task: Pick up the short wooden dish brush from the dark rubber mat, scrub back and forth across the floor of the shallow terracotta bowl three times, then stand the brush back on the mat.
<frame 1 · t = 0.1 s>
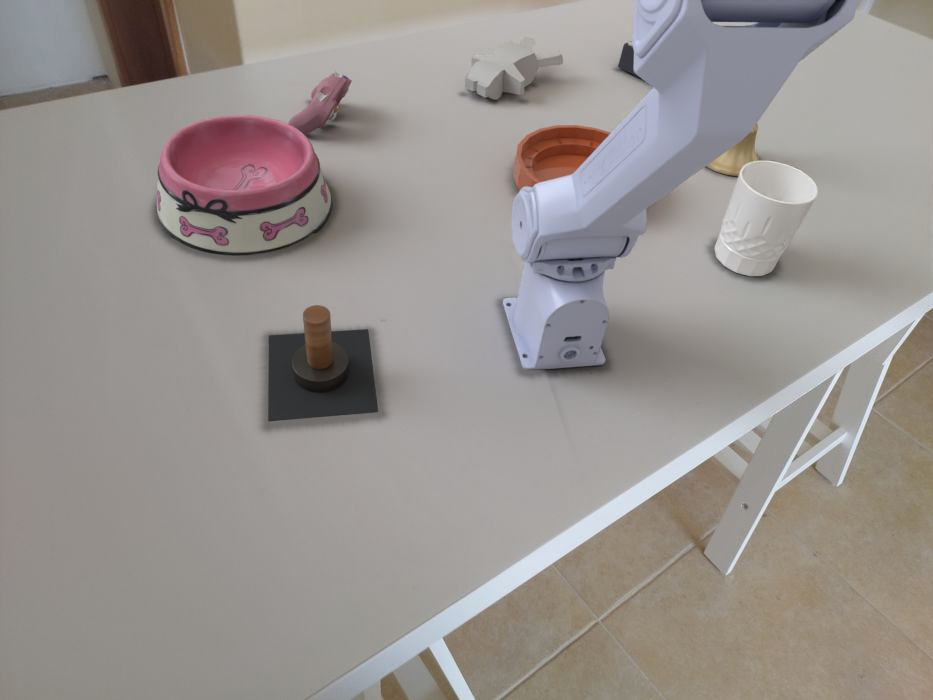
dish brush: (321, 371, 65), resting on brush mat
dog bowl: (247, 206, 81), on the table
hand bell: (726, 160, 97), on the table
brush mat: (321, 375, 65), on the table
video game controller: (322, 122, 95), on the table
white cup: (743, 259, 82), on the table
terracotta bowl: (578, 185, 90), on the table
bunny figurine: (508, 85, 107), on the table
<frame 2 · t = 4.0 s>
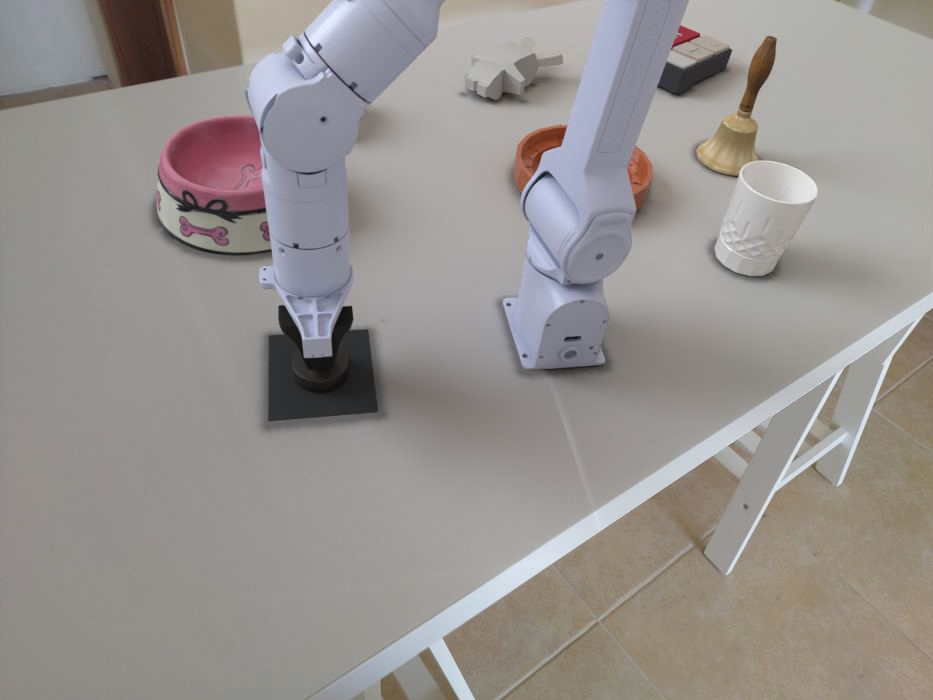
hand: (319, 354, 63), 3 cm above the table, tool pointing down, fingers closed on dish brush, 2 cm apart
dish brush: (321, 372, 65), resting on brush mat, touching gripper
everything else where it was.
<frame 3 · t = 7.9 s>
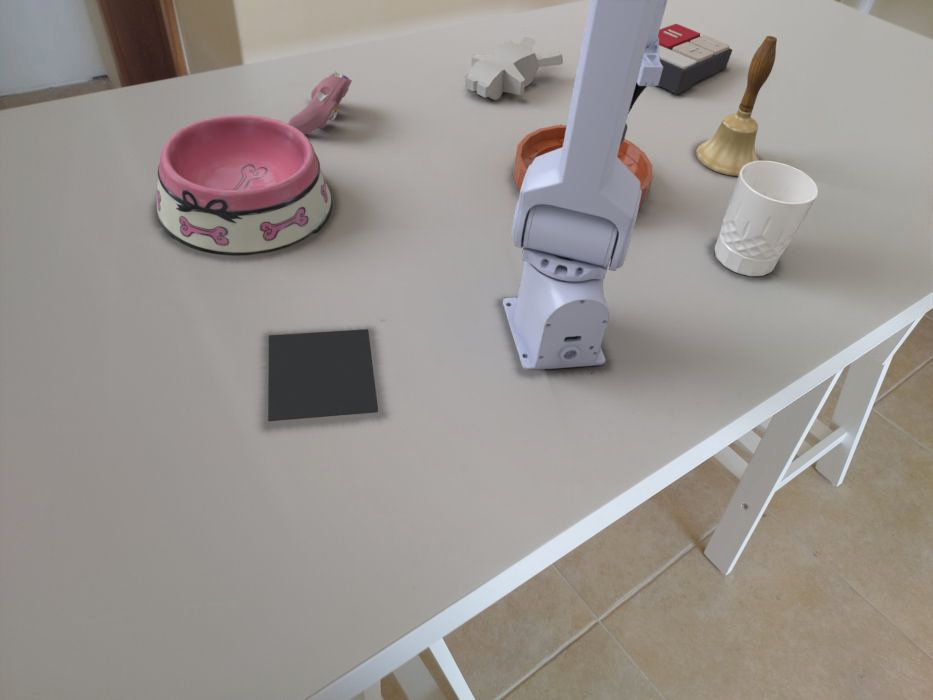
hand: (608, 117, 81), 10 cm above the table, tool pointing down, fingers closed on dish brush, 2 cm apart
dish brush: (602, 135, 82), point 8 cm above the table, touching gripper
everything else where it was.
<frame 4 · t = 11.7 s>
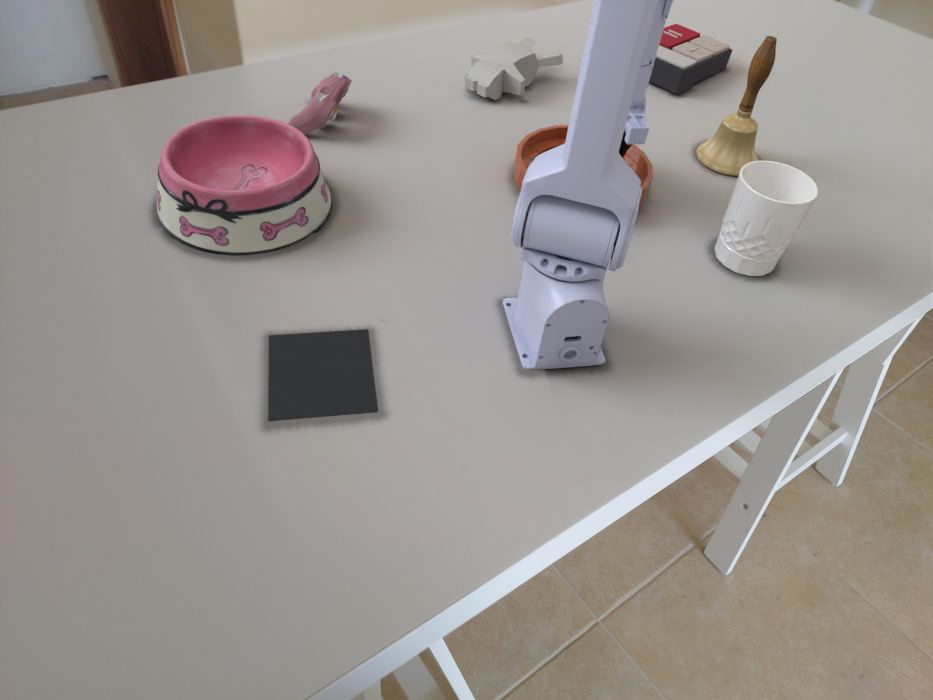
hand: (600, 167, 87), 3 cm above the table, tool pointing down, fingers closed on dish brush, 2 cm apart
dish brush: (595, 183, 88), point 1 cm above the table, touching gripper
everything else where it was.
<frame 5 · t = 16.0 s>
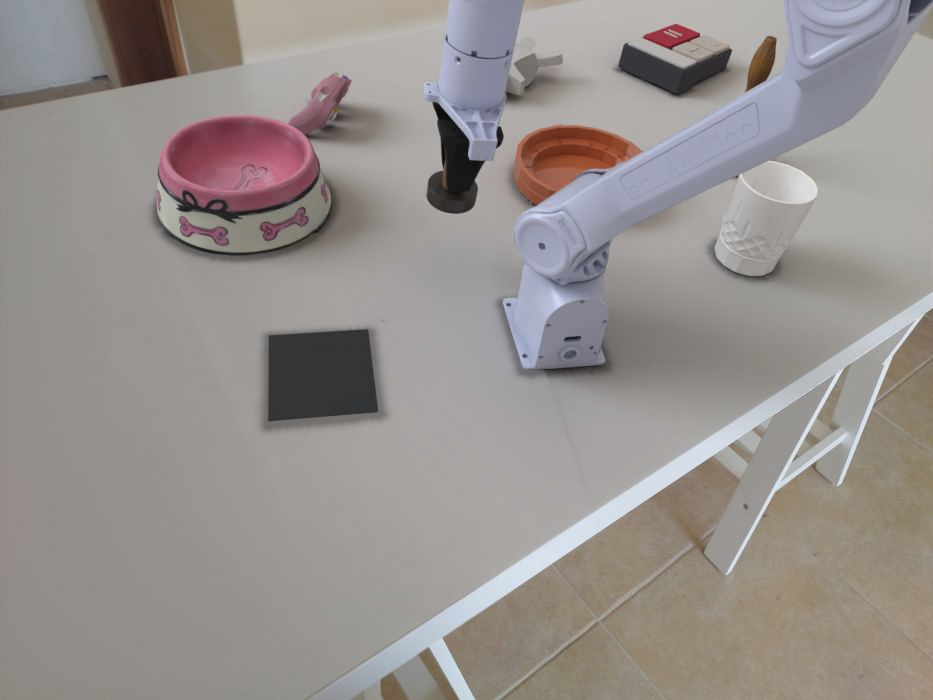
hand: (455, 179, 69), 10 cm above the table, tool pointing down, fingers closed on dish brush, 2 cm apart
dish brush: (451, 197, 71), point 8 cm above the table, touching gripper
everything else where it was.
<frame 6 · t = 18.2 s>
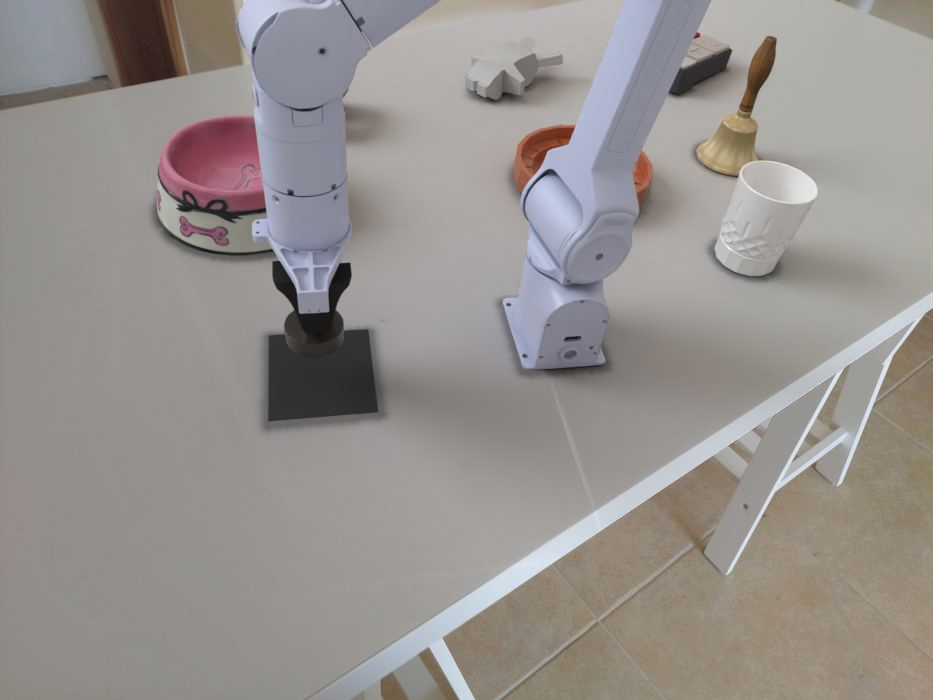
hand: (316, 317, 60), 7 cm above the table, tool pointing down, fingers closed on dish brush, 2 cm apart
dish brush: (315, 336, 61), point 5 cm above the table, touching gripper
everything else where it was.
when the fingers open (2 cm above the table, at t = 19.5 s): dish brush stays where it is, resting on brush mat.
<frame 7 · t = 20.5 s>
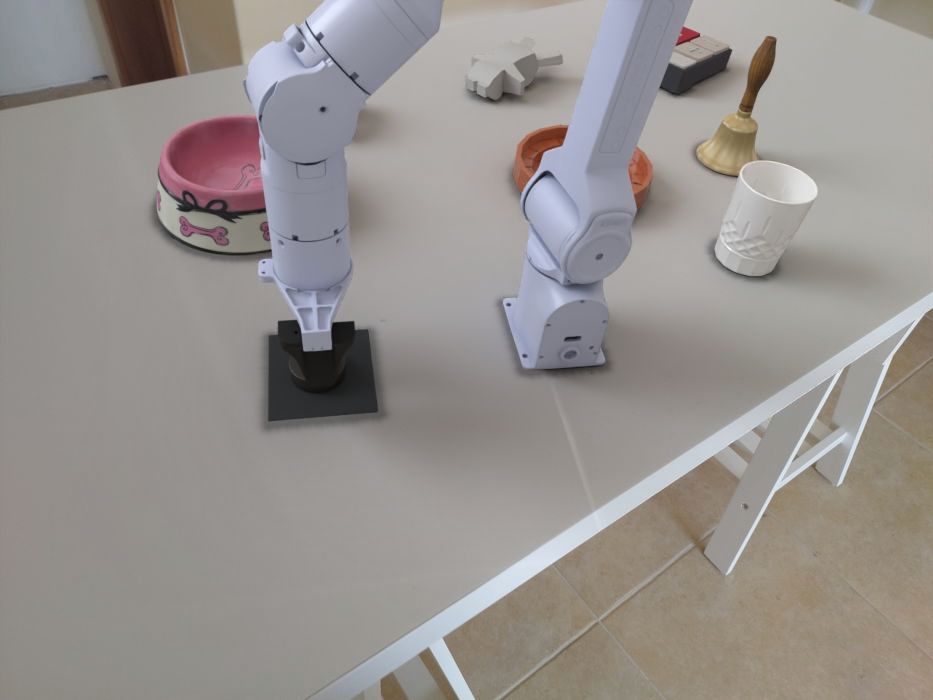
hand: (319, 349, 62), 3 cm above the table, tool pointing down, fingers open, 7 cm apart
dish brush: (318, 372, 64), resting on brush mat
everything else where it was.
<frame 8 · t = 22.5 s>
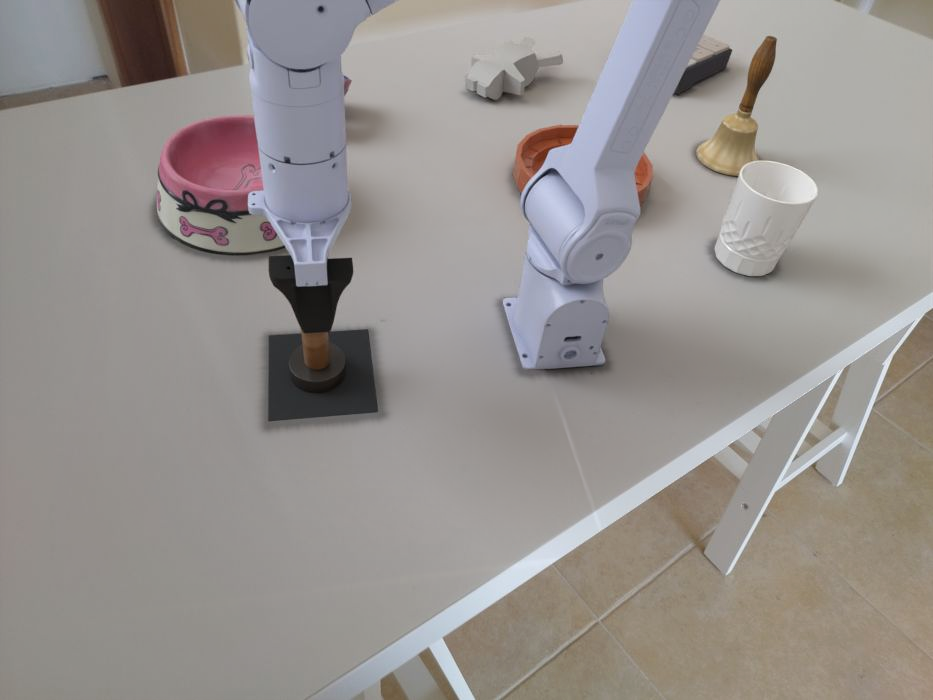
hand: (314, 295, 58), 9 cm above the table, tool pointing down, fingers open, 7 cm apart
nothing on the table moved.
at the end: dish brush 0.3 cm off-centre on the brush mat, point 0.4 cm above the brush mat's base; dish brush tilted 0°; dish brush touching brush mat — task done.
